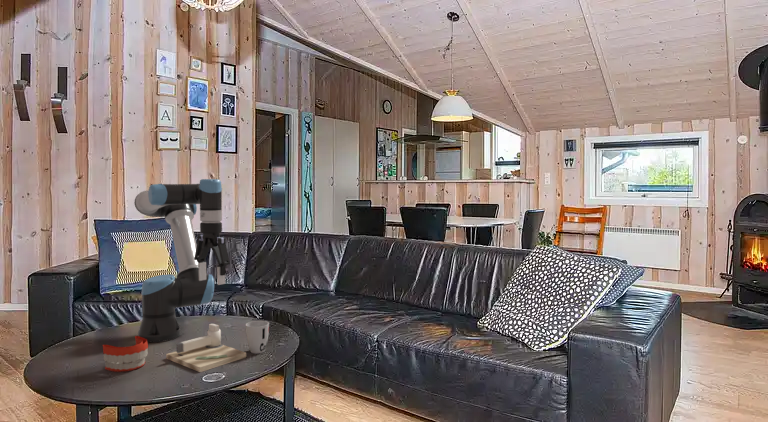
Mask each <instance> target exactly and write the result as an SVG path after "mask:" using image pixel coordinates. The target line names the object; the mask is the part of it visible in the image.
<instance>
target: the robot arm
mask: <svg viewBox="0 0 768 422" xmlns="http://www.w3.org/2000/svg"><path fill="white" fill-rule="evenodd" d="M222 193H223V188H222V181H221V180H220V179H219V178H218V179H217V178H202V179H200V180H199V183H180V184H178V183H177V184H176V183H175V184H173V183H172V184H171V183H157V184H156V183H153V184H152V183H151V185H149V187H148V190H143V191H141V192H139V193H138V194H136V196H135V198H134V203H133V204H134V206H135V209H136V211H138V213H140V214H142V215H144V216H147V217H153V218H164V219H165V222H166V223H167V224H169V225H170V229H171V234H172V239H173V243H174V244H173V245H174V249H175V250H174V251H175V255H176V259H177V265H178V273H177V274H176V276H175V275H173V274H160V275H156V276H152V277H150V278H149V277H148V278H146V279H145V280H144V281H142V285H141V292H140V293H141V304H142V305H141V307H142V308H141V310H142V318H141V319H142V320H141V323H140V325H139V329H138V332H137V336H140V337H142V338H145V339H147V343H160V342H161V343H162V342H167V341H171V340H174V339H177V338H178V337H180V336H181V328H180V325H179V322H178V319H177V317H176V308H177V309H178V308H183V307H186V308H187V307H192V306H193V307H194V306H201V305H205V304H209V303H210V302H211V301H212V300H213V297H214V292H215V279H214V276H213V274H210V273H207V259H206V258H207V257H208V253H209V251H210V249H211V250H212V251H213V253H214V256H215V258H216V262H217V264H218V265H217V267H216V269H217V270H216V271H217V272H216V273H217V275H216V277H217V286H220V285H226V273H227V272H226V266H228V265H230V263H231V262H230V257H229V253H228V249H227V248H228V247H227V244H226V243H227V242H226V241H227V240H226V237H225V236H224V237H220V234H221V233H222V232H223V223H222V222H221V221H223V212H222V211H223V206H222V205H223V201H222V200H223V199H222V198H223V196H222ZM197 205H199V221H201V222H200V223H199V232H200V233H201V234H198V235H197V237H196V235H195V233H194V231H195V230H194V227H193V222H192V221H193V220H194V218H195V215H196V213H197V210H198V206H197ZM196 238H197V240H196Z"/></svg>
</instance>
